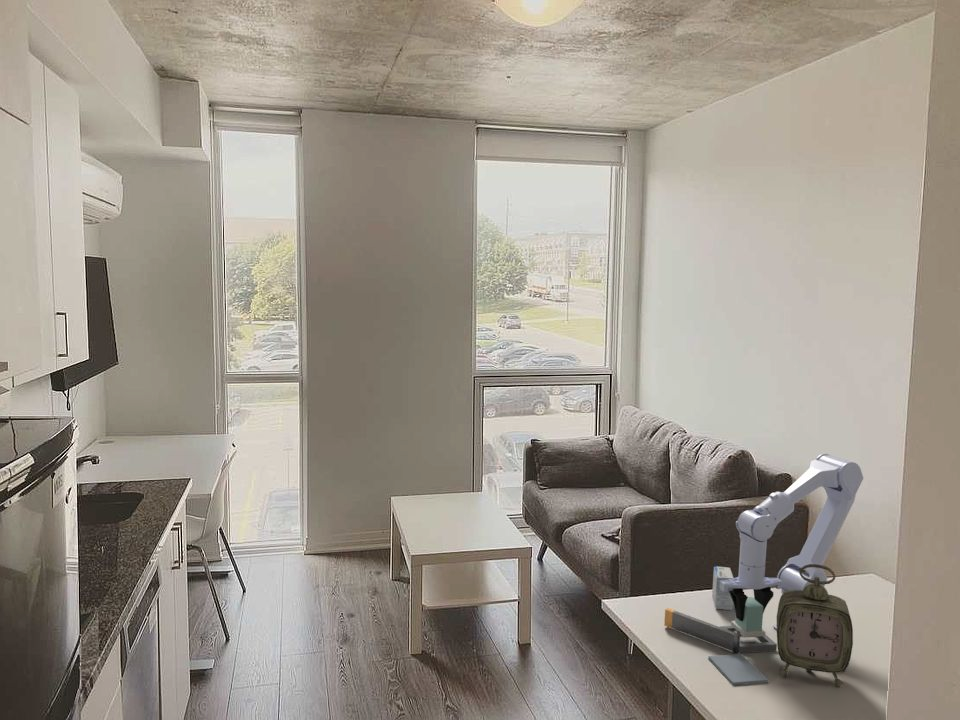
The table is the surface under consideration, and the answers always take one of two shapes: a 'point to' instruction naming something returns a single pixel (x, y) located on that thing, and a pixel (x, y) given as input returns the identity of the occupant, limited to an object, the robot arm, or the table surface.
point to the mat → (737, 669)
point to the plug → (750, 620)
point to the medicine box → (720, 597)
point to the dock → (755, 647)
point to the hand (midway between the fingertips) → (748, 618)
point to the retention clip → (703, 630)
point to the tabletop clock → (814, 629)
